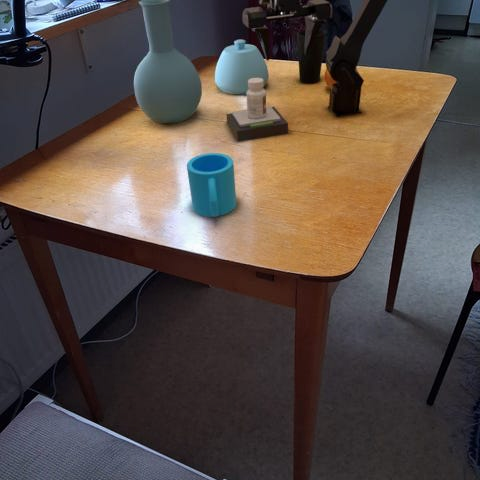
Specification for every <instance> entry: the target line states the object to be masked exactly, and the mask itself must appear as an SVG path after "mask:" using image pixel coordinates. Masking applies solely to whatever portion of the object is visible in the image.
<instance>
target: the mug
mask: <svg viewBox="0 0 480 480" xmlns="http://www.w3.org/2000/svg"><path fill="white" fill-rule="evenodd" d="M186 170H187V171H186V172H187V179H188V185H189V191H190V199H191V207H192V210H193V211H194V212H195V214H198V215H199V216H202V217H213V218H217V217H220V216H224V215H227V214H229V213H231V212H232V211H233V210H234V209H235V208H236V207H237V191H236V179H235V165H234V160H233V158H232V157H231V156H230V155H228V154H226V153H225V154H224V153H221V152H207V153H202V154H199V155H195V156H194V157H192V158H190V159H189V160H188V161H187V163H186Z"/></svg>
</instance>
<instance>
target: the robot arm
mask: <svg viewBox="0 0 480 480" xmlns="http://www.w3.org/2000/svg"><path fill="white" fill-rule="evenodd" d="M301 1H302V0H258V3H259V5H260V6H255V7H254V6H253V7H247V8H244V10H243V11H242V15H241V16H242V24H243V25H244V26H245V27H247V29H250V30H252V32H254V33H256V35H257V37H258V40H259V43H260V45H261V48H262V51H263V55H264V58H265V61H266V62H267V61H269V60H270V36H269V35H270V34H269V28H268V27H267V26H266V25H267V23H268V22H270V21H279V20H287V19H293V18H294V19H295V18H302V17H304V22H305V29H306V32H305V44H304V54H305V55H308V53H309V50H310V48H311V46H312V43H313V41H314V39H315V36H316V34H317V33H318V31H319V29H321V27H322V25H324V24H326V23H327V20H330V19H332V18H333V6H332V4H331V2H329V1H327V0H307V2H306V5H303V4H302V3H301ZM388 1H389V0H363V1H362V4H361V5H360V7H359V8H358V11H357V13H356V14H355V17H354V18H353V20H352V22H351V24H350V26H349V28H348V29H347V30H346V33H344V34H343V36H341V38H339V37H338V36H337V35H334V37H333V39H332V42H331V45H330V47H329V48H328V49H327V51H326V52H325V55H326V58H325V66H326V67H325V68H326V69H327V70H328V72H329V74H330V75H331V77H332V79H333V80H335V81H336V83H335V84H332V89H331V91H329V98H328V101H329V102H328V106H327V109H328V110H329V111H330V112H331V113H332V114H333V115H334V116H335V117H338V118H340V117H346V116H352V115H359V114H362V112H363V110H362V109H361V108H360V106H361V105H360V104H361V95H362V87H363V85H364V81H365V80H364V78H363V77H362V76H361V74H360V73H359V71H357V70H358V68H357V67H358V65H359V63H360V58H361V55H362V51H363V47H364V44H365V41H366V39H367V38H368V36H369V34H370V32H371V31H372V29H373V27H374V26H375V24H376V22H377V20H378V18H379V17H380V15H381V13H382V11H383V9H384V8H385V6H386V5H387V3H388ZM261 5H266V7H267V10H266V9H264V8H262V7H261ZM356 68H357V69H356Z"/></svg>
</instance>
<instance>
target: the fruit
mask: <svg viewBox="0 0 480 480" xmlns="http://www.w3.org/2000/svg"><path fill="white" fill-rule="evenodd" d="M356 69H357V71H358V68H357V67H356ZM358 72H359V71H358ZM324 81H325V82H324V83H325V85H326V87H328V89H330V90H332V84H335V83H336V81H335V80H333V79H332V77H331V75H330V74H329V72H328V70H327V68H326V69H325V71H324Z"/></svg>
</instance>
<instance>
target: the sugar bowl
mask: <svg viewBox="0 0 480 480" xmlns="http://www.w3.org/2000/svg"><path fill="white" fill-rule="evenodd" d="M233 43H234V44H232V45H229V46H226V47H225V48H224V49H223V50H222V52H221V53H220V56H219V59H218V61H217V63H216V67H215V71H214V83H215V85H216V86H217V87H218V89H220V90H221V92H223V93H225V94H230V95H247V91H248V90H249V88H248V80H249V79H251V78H262V79H263V83H264V85H263V86H264V87H265V86H266V84H267V83H268V82H269V78H270V77H269V76H270V75H269V69H268V65H267V63H266V62H267V61H266V59H264V58H265V57H263V55H262V53H261V51H260V50H259V48H258V47H257V46H256V45H254V44H249V43H246V40H245V39H236V40H234V41H233Z"/></svg>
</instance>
